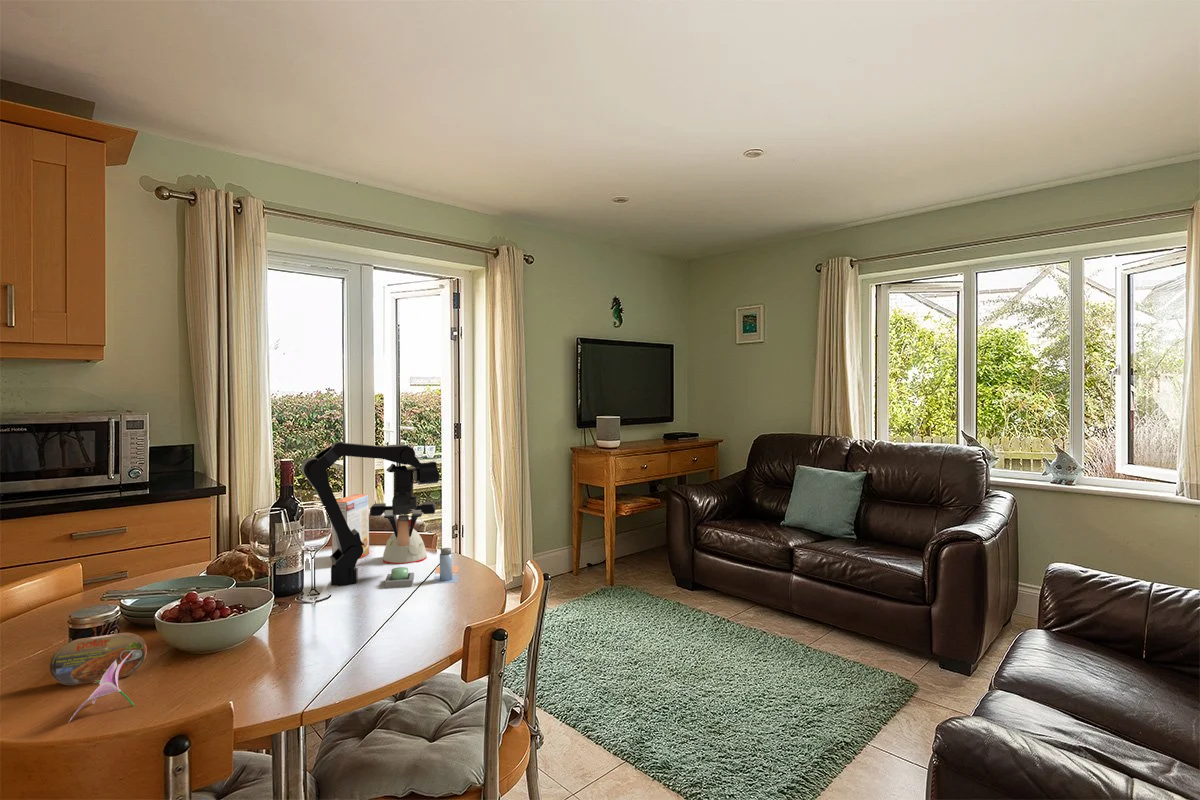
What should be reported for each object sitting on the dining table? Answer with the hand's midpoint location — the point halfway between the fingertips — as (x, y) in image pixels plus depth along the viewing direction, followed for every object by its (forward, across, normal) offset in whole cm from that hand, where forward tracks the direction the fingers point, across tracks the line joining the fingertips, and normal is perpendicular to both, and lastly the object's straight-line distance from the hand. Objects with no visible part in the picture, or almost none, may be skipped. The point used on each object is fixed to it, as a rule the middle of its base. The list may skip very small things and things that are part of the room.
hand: (403, 536), depth 187 cm
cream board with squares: (+12, +7, -4) cm, 15 cm away
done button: (+10, 0, -10) cm, 14 cm away
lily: (+12, -45, -69) cm, 83 cm away
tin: (+12, -52, -56) cm, 78 cm away
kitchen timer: (+13, -1, +17) cm, 21 cm away
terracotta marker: (+2, 0, 0) cm, 2 cm away
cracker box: (+12, -19, +23) cm, 32 cm away
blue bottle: (+11, +13, -9) cm, 19 cm away
